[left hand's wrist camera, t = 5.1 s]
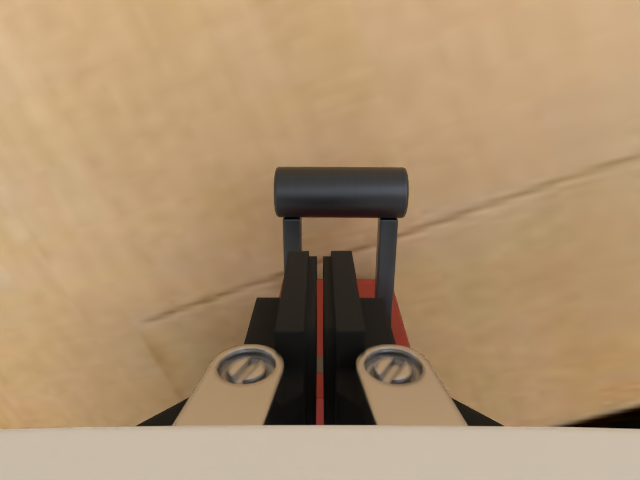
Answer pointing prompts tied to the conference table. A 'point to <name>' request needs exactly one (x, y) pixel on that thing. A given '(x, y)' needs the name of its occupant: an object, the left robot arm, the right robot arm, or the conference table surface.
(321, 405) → the drawer
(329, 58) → the conference table surface
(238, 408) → the left robot arm
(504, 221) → the conference table surface
